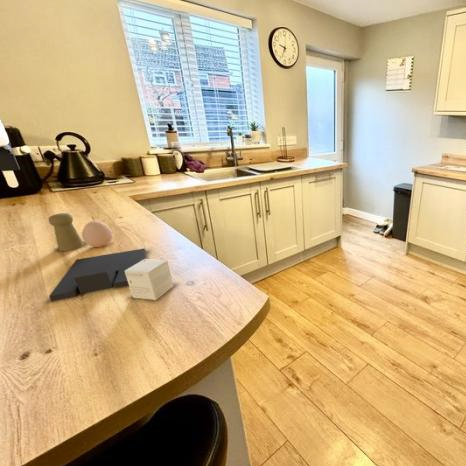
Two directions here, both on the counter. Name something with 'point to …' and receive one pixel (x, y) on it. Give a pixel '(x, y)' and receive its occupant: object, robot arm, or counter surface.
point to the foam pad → (96, 277)
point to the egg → (97, 234)
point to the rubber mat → (119, 260)
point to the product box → (149, 279)
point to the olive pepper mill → (65, 232)
